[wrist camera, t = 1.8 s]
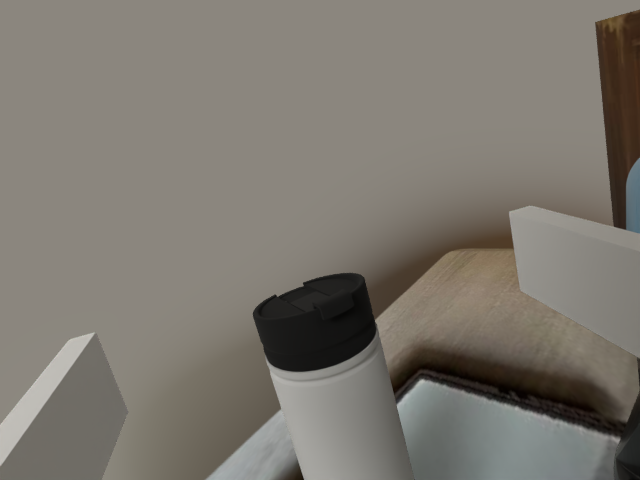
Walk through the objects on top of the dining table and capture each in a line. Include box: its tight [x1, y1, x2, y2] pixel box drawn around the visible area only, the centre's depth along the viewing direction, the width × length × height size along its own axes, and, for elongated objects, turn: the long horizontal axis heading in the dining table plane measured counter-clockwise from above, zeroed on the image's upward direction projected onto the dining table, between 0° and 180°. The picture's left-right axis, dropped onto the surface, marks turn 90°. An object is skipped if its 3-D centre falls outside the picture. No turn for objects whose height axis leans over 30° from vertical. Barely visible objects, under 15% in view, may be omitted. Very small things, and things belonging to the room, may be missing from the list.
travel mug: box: [253, 273, 415, 480], centre depth 27 cm, size 6×7×20 cm
